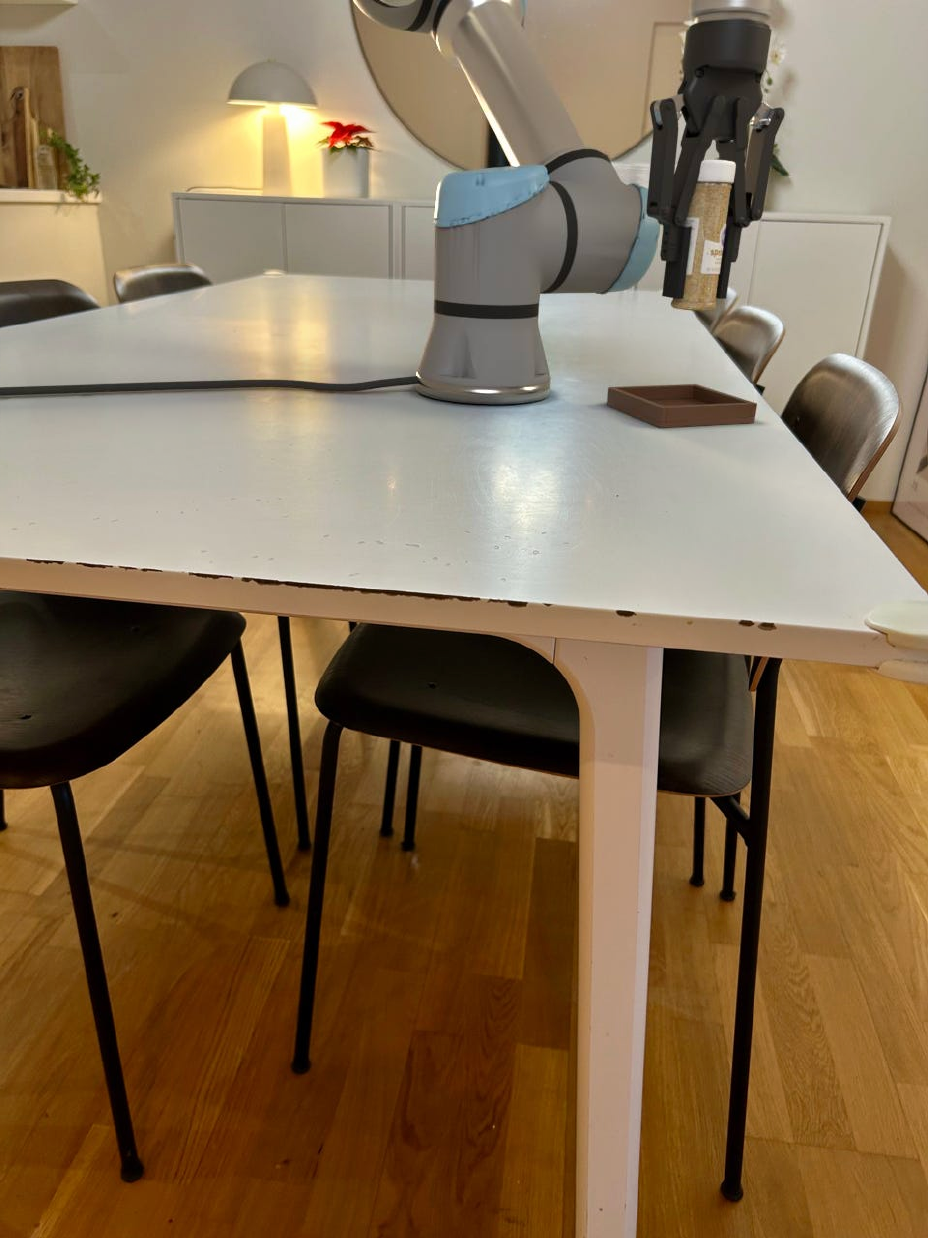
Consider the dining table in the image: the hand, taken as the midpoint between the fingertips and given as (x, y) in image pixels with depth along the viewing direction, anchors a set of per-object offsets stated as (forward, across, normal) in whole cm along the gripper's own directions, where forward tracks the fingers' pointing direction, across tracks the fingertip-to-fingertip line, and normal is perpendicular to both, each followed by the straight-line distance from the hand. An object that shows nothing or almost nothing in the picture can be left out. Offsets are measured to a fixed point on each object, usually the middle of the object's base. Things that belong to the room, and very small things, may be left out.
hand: (694, 296), depth 91 cm
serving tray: (+12, 0, 0) cm, 12 cm away
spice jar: (+1, 0, 0) cm, 1 cm away
